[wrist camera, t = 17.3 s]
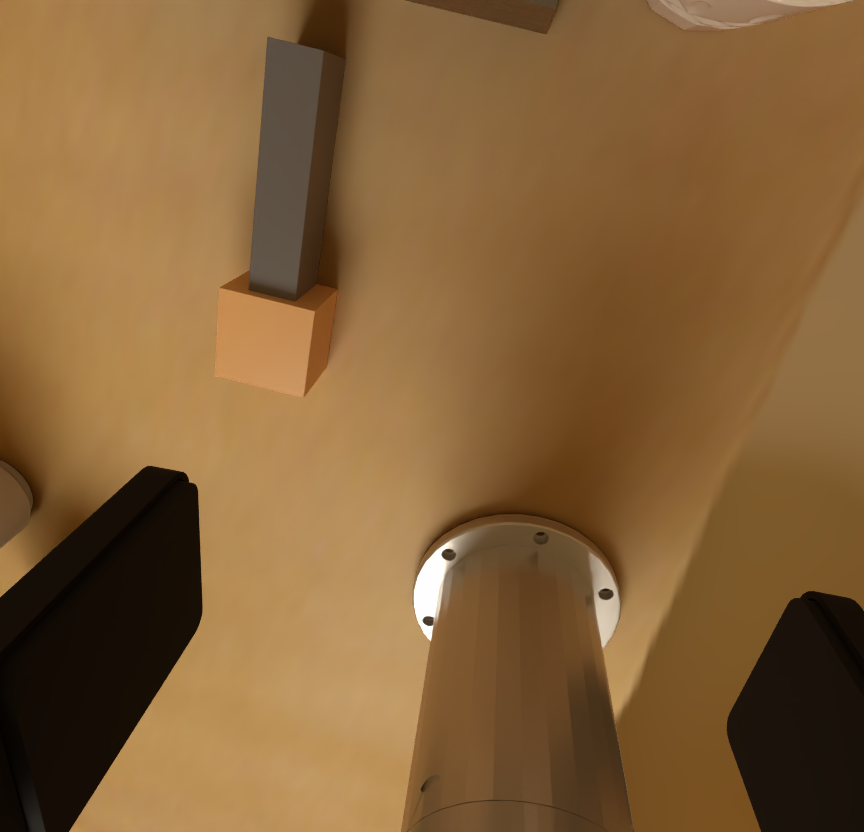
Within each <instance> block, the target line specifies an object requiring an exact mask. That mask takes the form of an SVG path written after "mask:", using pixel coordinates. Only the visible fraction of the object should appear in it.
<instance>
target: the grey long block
mask: <svg viewBox="0 0 864 832" xmlns="http://www.w3.org/2000/svg"><path fill="white" fill-rule="evenodd" d="M407 1H411V2H415V3H419V4H423V5H427V6H432V7H436V8H440V9H444V10H448V11H452V12H457V13H461V14H465V15H469V16H473V17H477V18H481V19H486V20H490V21H494V22H498V23H502V24H506V25H510V26H515V27H519V28H523V29H527V30H531V31H535V32H540V33H544V34H547V31H548V29H549V26H550V23H551V21H552V18H553V16H554V13H555V11H556V8H557V4H558V0H407Z"/></svg>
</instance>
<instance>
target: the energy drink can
mask: <svg viewBox="0 0 864 832" xmlns="http://www.w3.org/2000/svg"><path fill="white" fill-rule="evenodd" d="M32 506H33V496H32V492H31V489H30V487H29V485H28V483H27V482H26V480H25V479H24V478H23V476H22V475H21V474H20V473H19V472H18V471H17V470H15V469H14V468H13V467H11V466H10V465H9V464H7V463H5V462H3V461H1V460H0V548H1V547H2V546H4V545H5V544H6V543H7V542H8V541H10V540H11V539H12V538H13V537H14V536H16V535H17V534H18V533H19V532H20V531H22V530H23V529H24V528H25V527H26V525H27V524H28V522H29V519H30V513H31V508H32Z"/></svg>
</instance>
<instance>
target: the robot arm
mask: <svg viewBox="0 0 864 832" xmlns="http://www.w3.org/2000/svg"><path fill="white" fill-rule="evenodd" d="M413 607H414V611H415V616H416V619H417V621H418V623H419V625H420V627H421V629H422V631H423V633H424V634H425V635H426V637H427V638H428V639H429V641H430V648H429V655H428V661H427V668H426V674H425V681H424V687H423V693H422V700H421V706H420V713H419V719H418V725H417V732H416V738H415V745H414V751H413V757H412V764H411V770H410V777H409V783H408V790H407V796H406V802H405V809H404V815H403V822H402V828H401V832H634V828H633V823H632V817H631V811H630V806H629V800H628V794H627V788H626V782H625V777H624V771H623V765H622V759H621V754H620V747H619V742H618V736H617V730H616V724H615V719H614V713H613V707H612V701H611V695H610V690H609V684H608V678H607V672H606V667H605V661H604V655H603V648H604V647H605V646H606V645H607V644H608V642H609V640H610V639H611V637H612V636H613V634H614V633H615V630H616V628H617V625H618V622H619V619H620V611H621V598H620V592H619V587H618V583H617V580H616V576H615V573H614V570H613V568H612V567H611V565H610V563H609V562H608V560H607V558H606V557H605V555H604V554H603V553H602V552H601V551H600V550H599V549H598V548H597V547H596V545H595V544H594V543H593V542H591V541H590V540H589V539H587V538H586V537H584V536H583V535H582V534H580V533H579V532H578V531H576V530H574V529H572V528H569V527H567V526H565V525H563V524H561V523H559V522H556V521H552V520H549V519H545V518H542V517H538V516H530V515H522V514H501V515H493V516H488V517H482V518H477V519H475V520H472V521H469V522H467V523H464V524H461V525H459V526H457V527H455V528H454V529H452V530H450V531H449V532H447V533H445V534H444V535H443V536H442V537H440V538H439V539H438V540H437V541H436V542H435V543H434V544H433V545H432V546H431V547H430V548H429V550H428V551H427V552H426V554H425V555H424V557H423V558H422V560H421V562H420V565H419V567H418V570H417V572H416V577H415V582H414V586H413ZM201 616H202V583H201V557H200V531H199V505H198V489H197V486H196V485H195V484H194V483H189V479H188V477H187V475H186V474H185V473H184V472H180V471H175V470H170V469H164V468H159V467H154V466H147V467H145V468H143V469H142V470H141V471H140V472H139V473H137V474H136V475H135V476H134V477H133V478H132V479H131V480H130V481H129V482H128V483H126V484H125V485H124V486H123V487H122V488H121V489H120V490H119V491H118V492H117V493H115V494H114V495H113V496H112V497H111V498H110V499H109V500H108V501H107V502H105V503H104V504H103V505H102V506H101V507H100V508H99V509H98V510H97V511H96V512H94V513H93V514H92V515H91V516H90V517H89V518H88V519H87V520H86V521H84V522H83V523H82V524H81V525H80V526H79V527H78V528H77V529H76V530H75V531H73V532H72V533H71V534H70V535H69V536H68V537H67V538H66V539H65V540H63V541H62V542H61V543H60V544H59V545H58V546H57V547H56V548H54V549H53V550H52V551H51V552H50V553H49V554H48V555H47V556H46V557H44V558H43V559H42V560H41V561H40V562H39V563H38V564H37V565H36V566H35V567H33V568H32V569H31V570H30V571H29V572H28V573H27V574H26V575H25V576H23V577H22V578H21V579H20V580H19V581H18V582H17V583H16V584H15V585H14V586H12V587H11V588H10V589H9V590H8V591H7V592H6V593H5V594H4V595H2V596H1V597H0V832H69V831H70V829H71V828H72V826H73V824H74V823H75V821H76V820H77V818H78V817H79V815H80V813H81V812H82V810H83V809H84V807H85V806H86V804H87V802H88V801H89V799H90V798H91V796H92V795H93V793H94V791H95V790H96V788H97V787H98V785H99V784H100V782H101V780H102V779H103V777H104V776H105V774H106V773H107V771H108V769H109V768H110V766H111V765H112V763H113V762H114V760H115V758H116V757H117V755H118V754H119V752H120V750H121V749H122V747H123V746H124V744H125V743H126V741H127V739H128V738H129V736H130V735H131V733H132V732H133V730H134V728H135V727H136V725H137V724H138V722H139V721H140V719H141V717H142V716H143V714H144V713H145V711H146V710H147V708H148V706H149V705H150V703H151V702H152V700H153V699H154V697H155V695H156V694H157V692H158V691H159V689H160V688H161V686H162V684H163V683H164V681H165V680H166V678H167V677H168V675H169V673H170V672H171V670H172V669H173V667H174V666H175V664H176V662H177V661H178V659H179V658H180V656H181V655H182V653H183V651H184V650H185V648H186V647H187V645H188V643H189V642H190V640H191V639H192V637H193V636H194V634H195V632H196V630H197V628H198V626H199V624H200V620H201ZM727 735H728V739H729V743H730V745H731V748H732V751H733V754H734V757H735V759H736V762H737V765H738V768H739V770H740V773H741V776H742V779H743V782H744V785H745V787H746V790H747V793H748V796H749V798H750V801H751V804H752V807H753V810H754V812H755V815H756V818H757V821H758V823H759V827H760V829H761V832H864V611H863V609H862V608H861V607H860V605H859V604H858V603H856V601H854V600H852V599H850V598H846V597H841V596H836V595H831V594H825V593H820V592H815V591H808V592H806V593H804V594H803V595H802V596H801V598H794V599H793V600H791V601H790V602H789V604H788V605H787V607H786V609H785V611H784V613H783V614H782V616H781V618H780V620H779V622H778V624H777V626H776V627H775V629H774V631H773V633H772V635H771V637H770V639H769V641H768V643H767V644H766V646H765V648H764V650H763V652H762V654H761V656H760V657H759V659H758V661H757V663H756V665H755V667H754V669H753V671H752V672H751V675H750V676H749V678H748V680H747V682H746V684H745V686H744V687H743V689H742V691H741V693H740V695H739V697H738V699H737V701H736V703H735V704H734V706H733V708H732V710H731V712H730V714H729V717H728V721H727Z"/></svg>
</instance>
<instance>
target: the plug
mask: <svg viewBox="0 0 864 832" xmlns="http://www.w3.org/2000/svg"><path fill="white" fill-rule="evenodd" d="M345 61H346V59H344V58H342V57H339V56H336V55H334V54H331V53H329V52H326V51H323V50H319V49H315V48H311V47H307V46H303V45H299V44H295V43H291V42H287V41H283V40H278V39H274V38H270V37H268V38H267V51H266V65H265V78H264V91H263V104H262V118H261V131H260V144H259V157H258V171H257V184H256V197H255V210H254V223H253V237H252V250H251V263H250V271H248V272H246V273H244V274H243V275H241V276H239V277H237V278H236V279H234V280H232V281H230V282H228V283H227V284H225V285H223V286H221V287H220V288H219V304H218V323H217V342H216V361H215V376H217V377H221V378H225V379H229V380H233V381H237V382H241V383H245V384H249V385H253V386H257V387H261V388H265V389H269V390H273V391H277V392H281V393H285V394H289V395H293V396H297V397H301V398H304V397H305V395H306V394H307V393H308V391H309V390H310V389H311V387H312V386H313V385H314V383H315V382H316V381H317V380H318V378H319V377H320V376H321V374H322V373H323V372H324V370H325V369H326V367H327V360H328V353H329V346H330V339H331V332H332V326H333V319H334V312H335V305H336V298H337V291H338V289H335V288H331V287H327V286H323V285H319V284H317V278H318V270H319V263H320V255H321V247H322V239H323V232H324V224H325V216H326V208H327V201H328V193H329V185H330V177H331V170H332V162H333V154H334V146H335V139H336V131H337V123H338V115H339V108H340V100H341V92H342V84H343V77H344V69H345Z"/></svg>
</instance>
